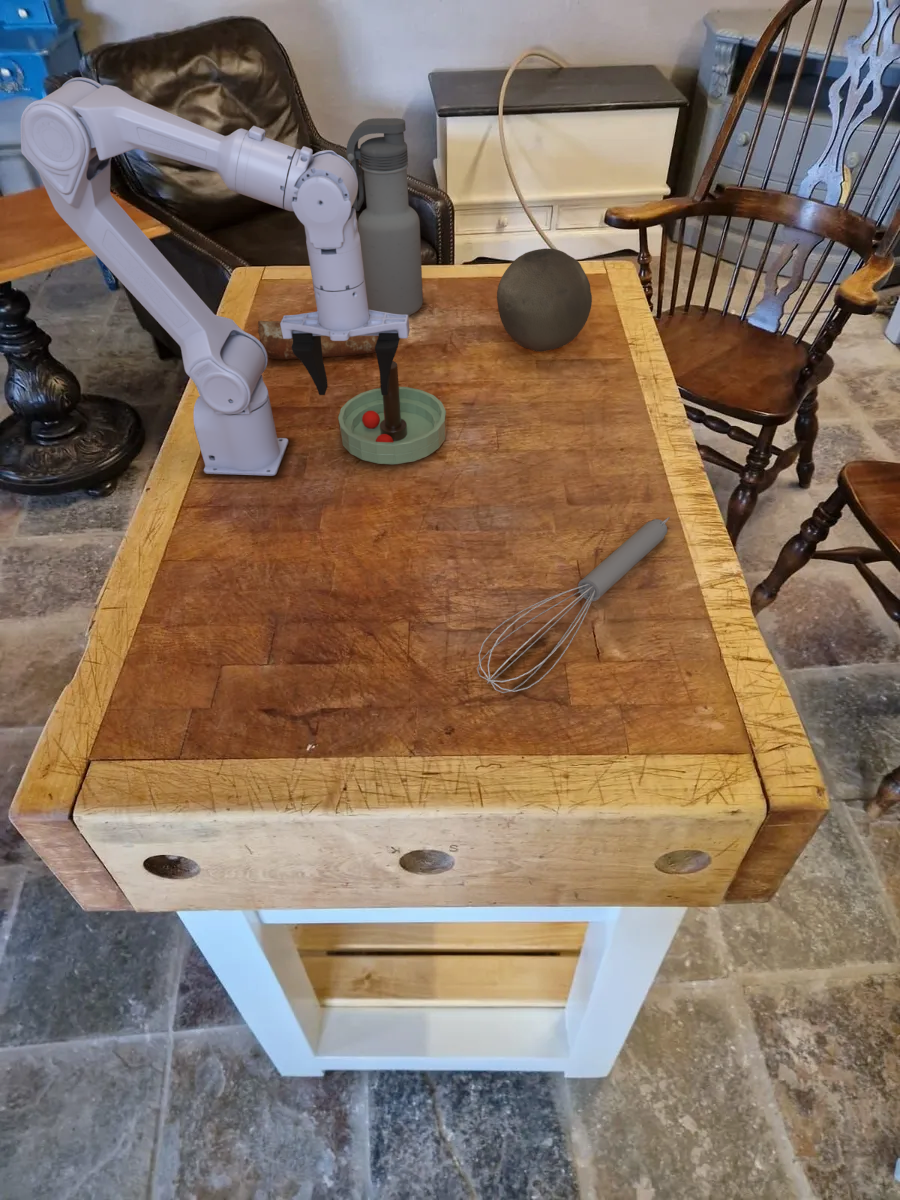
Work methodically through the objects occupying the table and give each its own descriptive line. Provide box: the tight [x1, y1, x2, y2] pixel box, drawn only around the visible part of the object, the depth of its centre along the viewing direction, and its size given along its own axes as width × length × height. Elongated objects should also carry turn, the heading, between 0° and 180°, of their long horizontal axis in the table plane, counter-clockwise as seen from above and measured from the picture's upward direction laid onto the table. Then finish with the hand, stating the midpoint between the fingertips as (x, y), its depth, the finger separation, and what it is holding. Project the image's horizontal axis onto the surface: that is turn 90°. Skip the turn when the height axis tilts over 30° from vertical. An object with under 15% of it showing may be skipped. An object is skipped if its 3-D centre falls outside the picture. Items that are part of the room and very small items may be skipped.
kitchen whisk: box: [476, 516, 671, 694], centre depth 83 cm, size 6×34×6 cm, turn 140°
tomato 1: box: [362, 411, 380, 429], centre depth 109 cm, size 2×2×2 cm
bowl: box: [337, 386, 447, 465], centre depth 107 cm, size 14×14×4 cm
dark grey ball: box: [496, 247, 593, 353], centre depth 120 cm, size 14×14×15 cm
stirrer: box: [380, 360, 407, 441], centre depth 105 cm, size 4×4×10 cm
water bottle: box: [346, 117, 424, 316], centre depth 126 cm, size 10×10×28 cm
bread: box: [257, 320, 379, 360], centre depth 123 cm, size 6×19×6 cm, turn 93°
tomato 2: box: [376, 434, 394, 442], centre depth 104 cm, size 2×2×2 cm
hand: (354, 390), depth 97 cm, fingers open, 7 cm apart
